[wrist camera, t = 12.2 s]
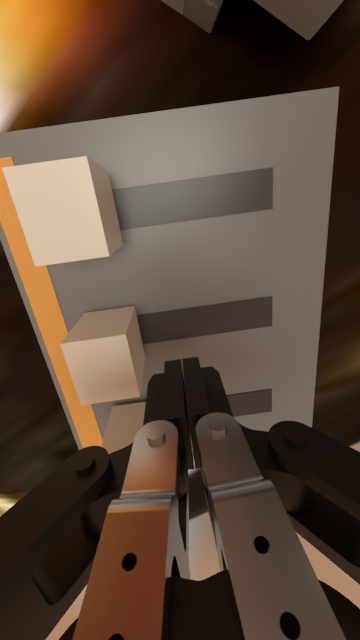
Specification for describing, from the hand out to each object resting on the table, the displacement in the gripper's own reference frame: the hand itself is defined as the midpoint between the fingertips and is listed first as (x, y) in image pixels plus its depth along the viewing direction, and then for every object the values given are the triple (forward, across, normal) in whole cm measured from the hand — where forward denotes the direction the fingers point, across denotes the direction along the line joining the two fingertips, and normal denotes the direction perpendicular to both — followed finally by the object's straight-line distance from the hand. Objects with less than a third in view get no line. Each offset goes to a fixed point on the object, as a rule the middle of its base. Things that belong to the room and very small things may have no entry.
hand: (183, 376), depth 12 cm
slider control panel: (+10, 0, 0) cm, 10 cm away
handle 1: (+5, +4, -7) cm, 10 cm away
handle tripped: (+5, +4, 0) cm, 6 cm away
